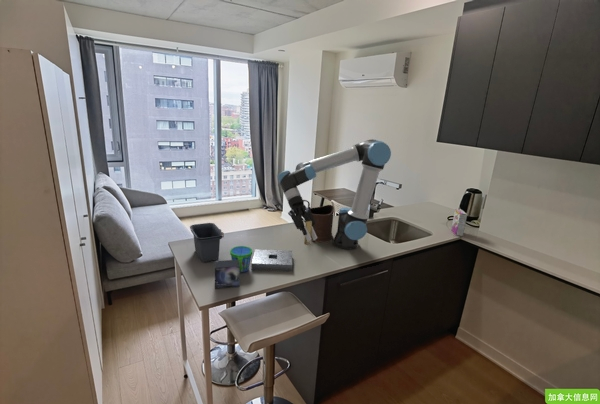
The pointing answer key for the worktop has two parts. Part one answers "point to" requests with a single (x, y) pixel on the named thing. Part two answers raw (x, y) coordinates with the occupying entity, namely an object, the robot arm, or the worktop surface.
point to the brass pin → (308, 225)
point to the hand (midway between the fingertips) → (312, 239)
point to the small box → (227, 274)
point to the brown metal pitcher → (322, 222)
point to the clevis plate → (272, 260)
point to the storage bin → (207, 240)
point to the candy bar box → (459, 222)
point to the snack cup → (242, 256)
